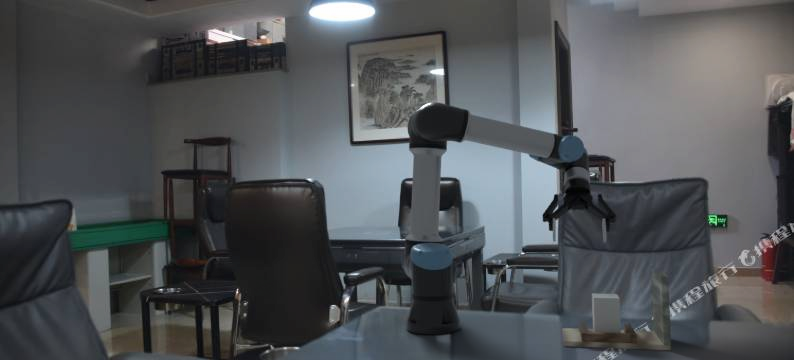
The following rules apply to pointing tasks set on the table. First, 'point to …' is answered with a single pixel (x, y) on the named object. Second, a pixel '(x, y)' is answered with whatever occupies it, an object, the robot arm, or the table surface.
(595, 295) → the grey upright block
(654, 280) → the display stand
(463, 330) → the table surface
